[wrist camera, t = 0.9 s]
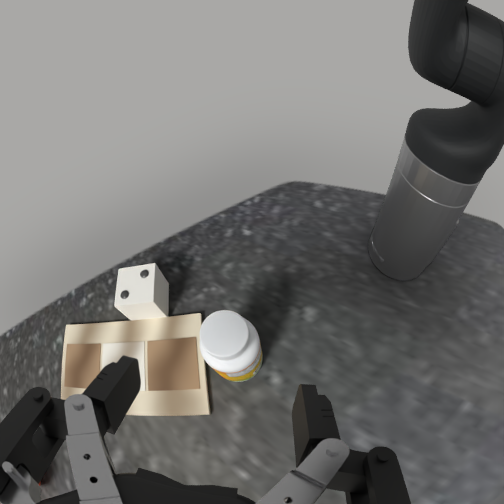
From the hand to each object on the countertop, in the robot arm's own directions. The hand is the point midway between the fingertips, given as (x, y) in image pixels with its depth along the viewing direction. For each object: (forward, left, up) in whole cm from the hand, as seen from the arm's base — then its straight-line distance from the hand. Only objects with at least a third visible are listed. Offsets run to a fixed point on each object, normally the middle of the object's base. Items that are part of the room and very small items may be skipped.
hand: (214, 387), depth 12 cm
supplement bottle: (0, -5, -17) cm, 18 cm away
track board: (+14, -5, -17) cm, 23 cm away
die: (+11, -14, -17) cm, 24 cm away
